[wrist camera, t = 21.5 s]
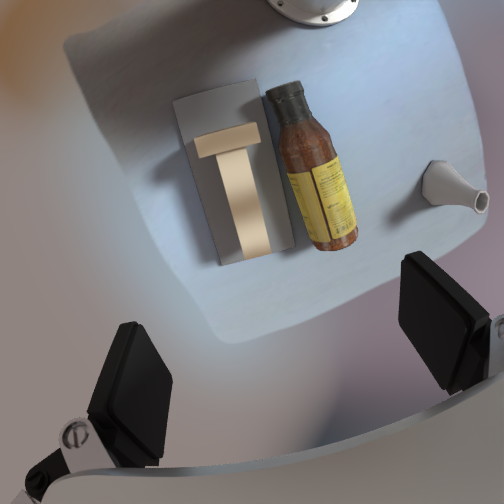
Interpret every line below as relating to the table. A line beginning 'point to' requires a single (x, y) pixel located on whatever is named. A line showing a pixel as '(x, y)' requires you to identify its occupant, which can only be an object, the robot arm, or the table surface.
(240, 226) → the beige t-shaped block
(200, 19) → the table surface
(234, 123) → the mat
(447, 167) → the flask
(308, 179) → the sauce bottle
